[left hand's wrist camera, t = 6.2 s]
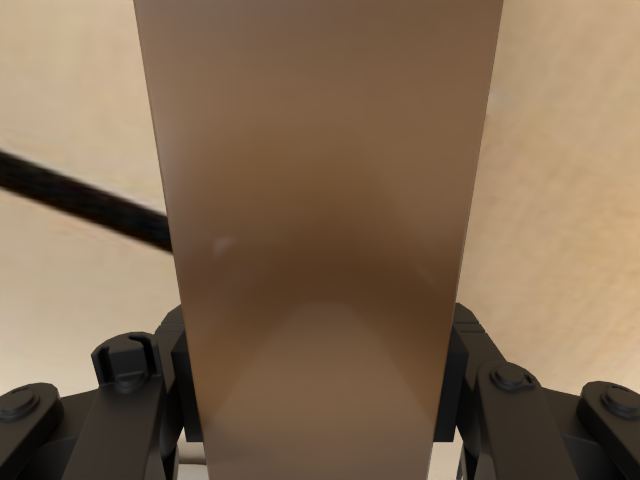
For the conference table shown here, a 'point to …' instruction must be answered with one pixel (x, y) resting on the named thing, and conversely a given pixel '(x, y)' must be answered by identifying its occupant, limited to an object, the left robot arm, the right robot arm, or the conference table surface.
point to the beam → (318, 219)
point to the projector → (192, 472)
